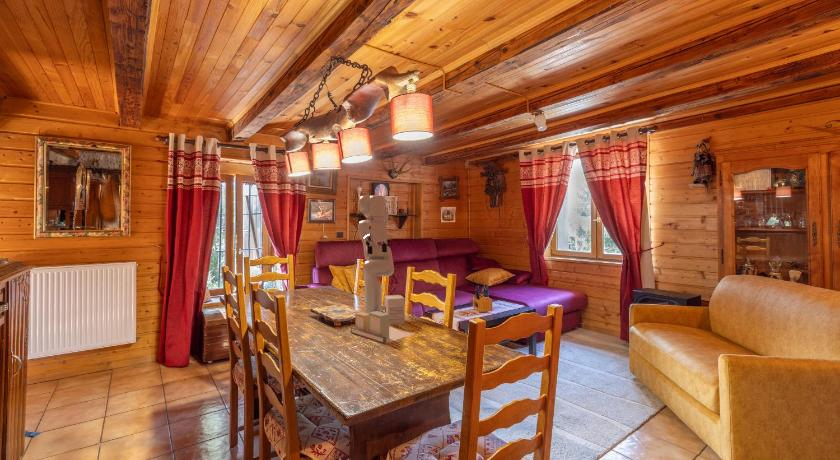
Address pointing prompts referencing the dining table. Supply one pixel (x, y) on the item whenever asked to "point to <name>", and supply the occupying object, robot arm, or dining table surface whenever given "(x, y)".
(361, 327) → the faced box
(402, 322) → the supplement box
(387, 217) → the robot arm
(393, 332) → the shelf
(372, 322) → the tea box
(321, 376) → the dining table surface
